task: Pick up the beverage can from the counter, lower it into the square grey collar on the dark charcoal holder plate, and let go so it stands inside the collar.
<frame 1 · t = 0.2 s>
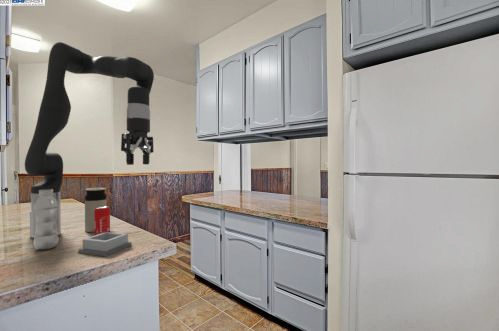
hand: (138, 164, 89), 28 cm above the counter, tool pointing down, fingers open, 8 cm apart
travel mug: (95, 230, 110), on the counter
plastic bottle: (46, 249, 86), on the counter
can holder: (106, 248, 86), on the counter
beverage can: (102, 239, 97), on the counter
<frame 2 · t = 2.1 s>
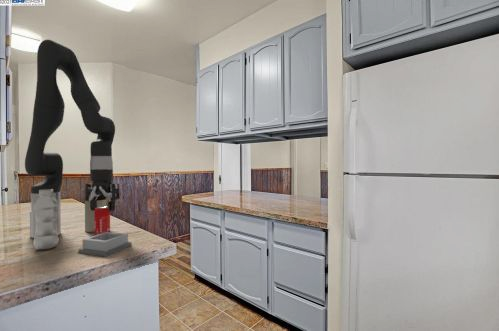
hand: (102, 210, 97), 11 cm above the counter, tool pointing down, fingers open, 8 cm apart
nothing on the counter moved.
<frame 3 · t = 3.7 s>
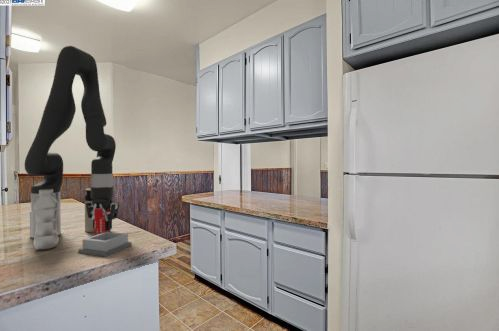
hand: (102, 229, 97), 3 cm above the counter, tool pointing down, fingers closed on beverage can, 5 cm apart
beverage can: (102, 239, 97), on the counter, touching gripper
everything else where it was.
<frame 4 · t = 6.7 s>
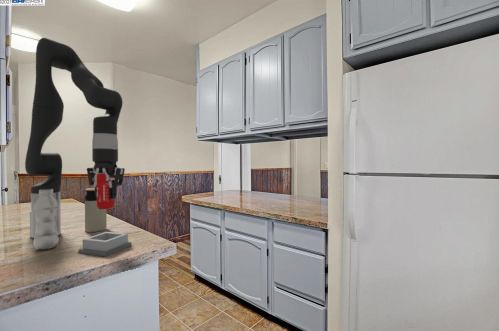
hand: (105, 198, 86), 17 cm above the counter, tool pointing down, fingers closed on beverage can, 5 cm apart
beverage can: (105, 208, 86), point 14 cm above the counter, touching gripper
everything else where it was.
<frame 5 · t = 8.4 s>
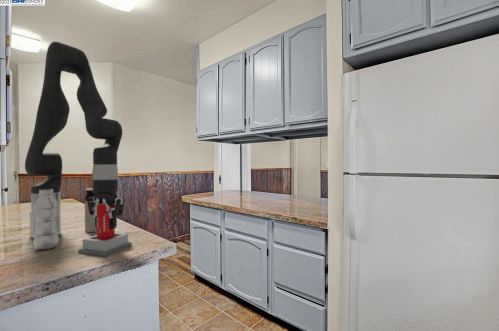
hand: (105, 228, 86), 7 cm above the counter, tool pointing down, fingers closed on beverage can, 5 cm apart
beverage can: (105, 238, 86), point 3 cm above the counter, touching gripper
everything else where it was.
when the fingers open (6 cm above the counter, at t = 9.5 s): beverage can drops 1 cm, resting on can holder.
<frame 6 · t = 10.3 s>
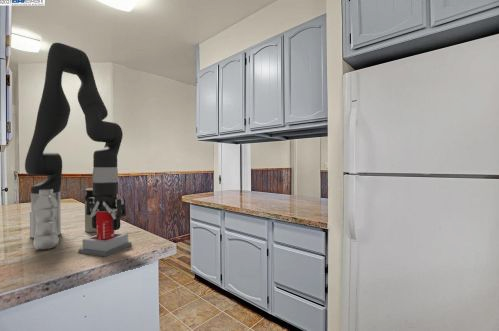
hand: (106, 228, 86), 7 cm above the counter, tool pointing down, fingers open, 8 cm apart
beverage can: (105, 245, 86), point 1 cm above the counter, touching can holder
everything else where it was.
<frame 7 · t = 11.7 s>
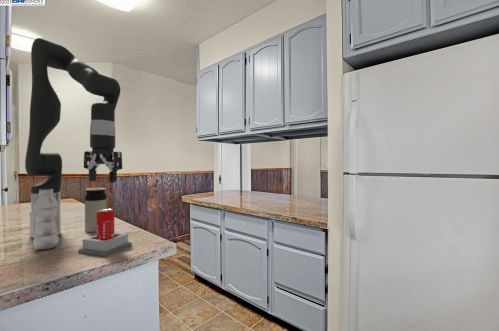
hand: (102, 181, 87), 23 cm above the counter, tool pointing down, fingers open, 8 cm apart
nothing on the counter moved.
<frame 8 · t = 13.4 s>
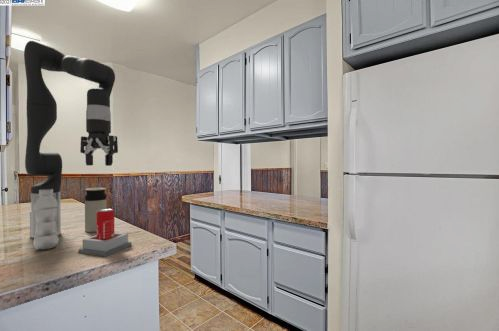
hand: (99, 165, 90), 28 cm above the counter, tool pointing down, fingers open, 8 cm apart
nothing on the counter moved.
at the end: beverage can 0.1 cm from the can holder (horizontally); beverage can point 1.0 cm above the counter; beverage can tilted 0° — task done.
